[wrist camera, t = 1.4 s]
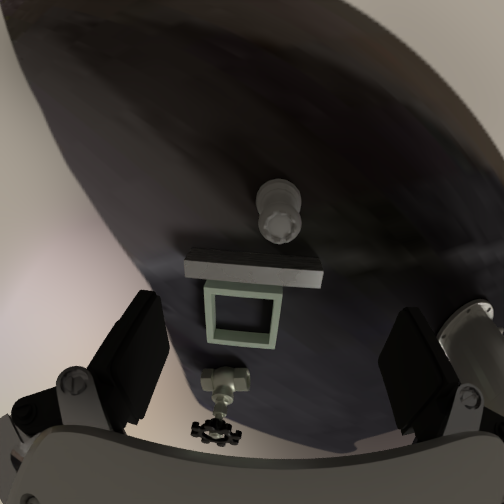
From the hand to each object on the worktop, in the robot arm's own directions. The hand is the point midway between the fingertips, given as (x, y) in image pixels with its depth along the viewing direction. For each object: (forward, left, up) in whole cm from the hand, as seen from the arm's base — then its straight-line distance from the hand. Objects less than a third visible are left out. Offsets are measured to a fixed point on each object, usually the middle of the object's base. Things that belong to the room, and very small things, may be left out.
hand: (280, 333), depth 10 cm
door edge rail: (+2, +7, -19) cm, 20 cm away
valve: (+5, +26, -19) cm, 32 cm away
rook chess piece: (0, 0, -19) cm, 19 cm away
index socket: (+3, +14, -19) cm, 23 cm away
